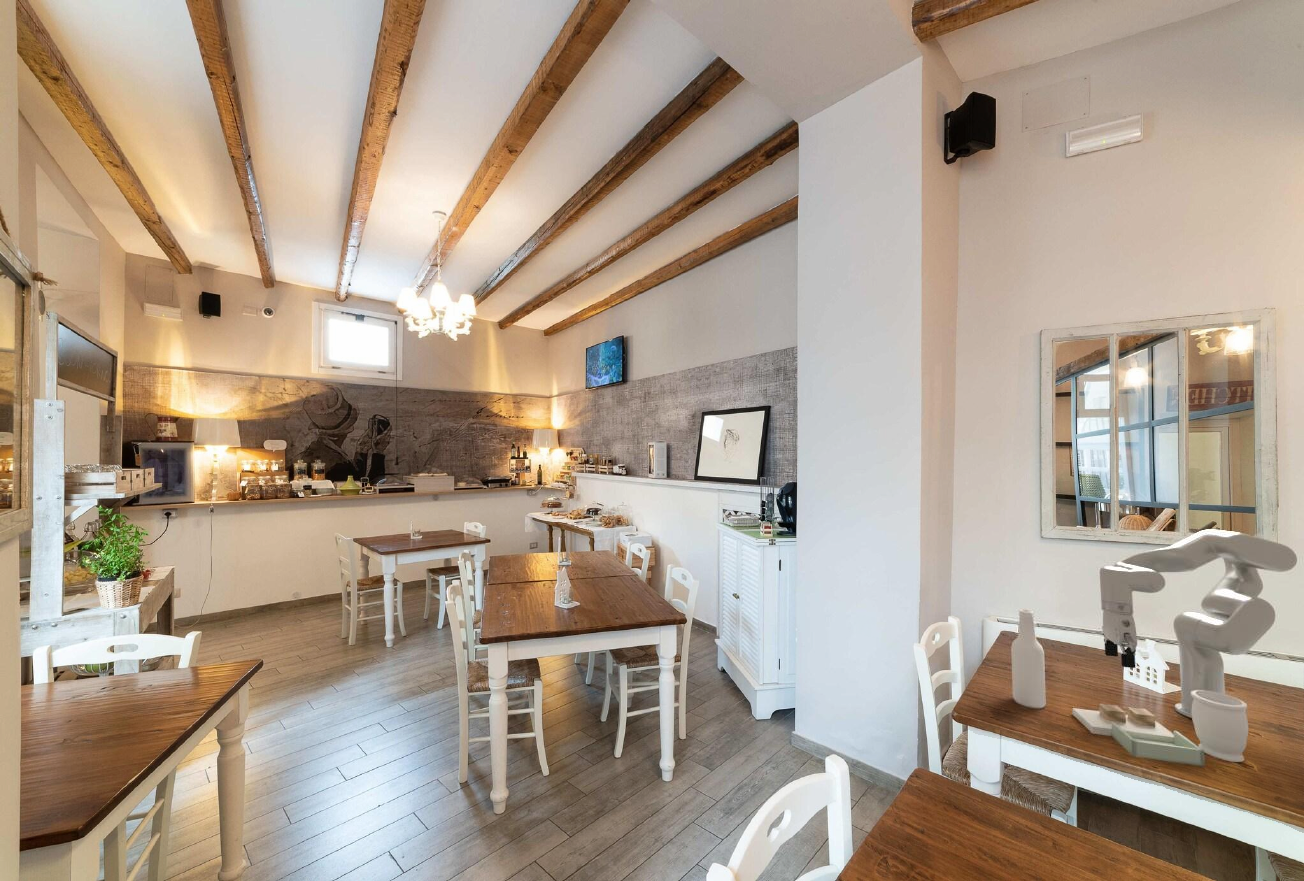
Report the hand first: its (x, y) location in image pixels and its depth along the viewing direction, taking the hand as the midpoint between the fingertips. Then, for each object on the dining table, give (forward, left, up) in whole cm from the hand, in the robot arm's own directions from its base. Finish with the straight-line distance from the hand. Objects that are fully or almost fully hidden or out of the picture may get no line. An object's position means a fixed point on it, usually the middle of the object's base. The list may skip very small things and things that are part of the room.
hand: (1119, 661), depth 162 cm
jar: (-13, +19, -17) cm, 28 cm away
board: (+5, +11, -17) cm, 20 cm away
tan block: (+6, +9, -15) cm, 18 cm away
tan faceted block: (-1, +9, -15) cm, 17 cm away
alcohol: (+25, 0, -17) cm, 30 cm away
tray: (+3, +23, -17) cm, 28 cm away
